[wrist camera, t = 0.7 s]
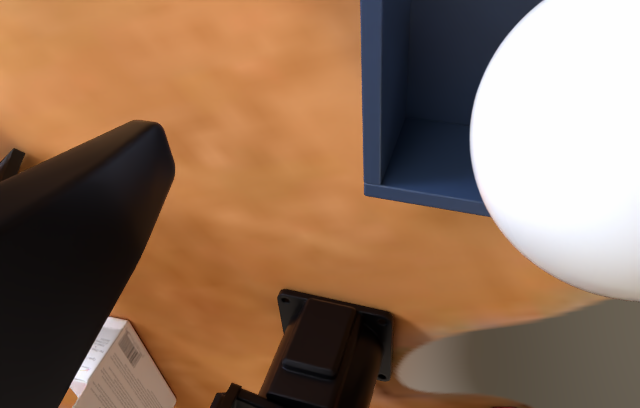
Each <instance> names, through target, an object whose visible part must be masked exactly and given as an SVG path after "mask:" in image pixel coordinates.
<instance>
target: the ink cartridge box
mask: <svg viewBox="0 0 640 408" xmlns="http://www.w3.org/2000/svg"><path fill="white" fill-rule="evenodd" d="M70 388H71V389H72V390H73V391H74V393H75V394H76V395H77V396H78V399H77V401H76V403H75V404H74V406H73V407H72V408H173V407H174V405H175V403H176V398H175V396H174V394H173V393H172V391H171V389H170V388H169V386H168V385H167V383H166V381H165V380H164V378H163V376H162V375H161V373H160V371H159V370H158V368H157V366H156V365H155V363H154V361H153V360H152V358H151V357H150V355H149V353H148V352H147V350H146V348H145V347H144V345H143V343H142V342H141V340H140V338H139V337H138V335H137V333H136V332H135V330H134V328H133V327H132V325H131V324H130V322H129V321H128V320H123V319H119V318H114V317H109V316H108V318H107V320H106V322H105V324H104V325H103V327H102V329H101V331H100V333H99V334H98V336H97V338H96V340H95V342H94V343H93V345H92V347H91V349H90V351H89V352H88V354H87V356H86V358H85V360H84V361H83V363H82V365H81V367H80V369H79V371H78V372H77V374H76V376H75V378H74V380H73V381H72V383H71V385H70Z"/></svg>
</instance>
